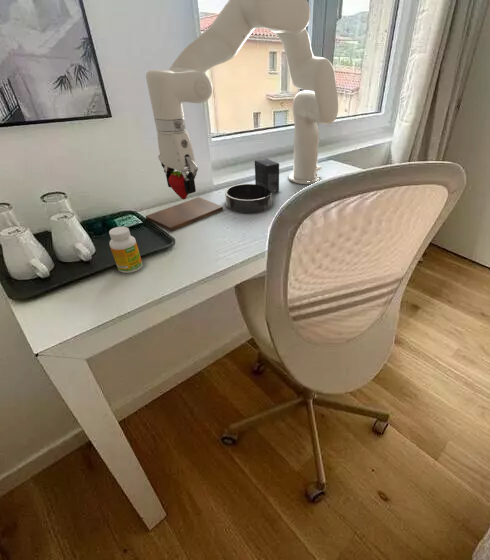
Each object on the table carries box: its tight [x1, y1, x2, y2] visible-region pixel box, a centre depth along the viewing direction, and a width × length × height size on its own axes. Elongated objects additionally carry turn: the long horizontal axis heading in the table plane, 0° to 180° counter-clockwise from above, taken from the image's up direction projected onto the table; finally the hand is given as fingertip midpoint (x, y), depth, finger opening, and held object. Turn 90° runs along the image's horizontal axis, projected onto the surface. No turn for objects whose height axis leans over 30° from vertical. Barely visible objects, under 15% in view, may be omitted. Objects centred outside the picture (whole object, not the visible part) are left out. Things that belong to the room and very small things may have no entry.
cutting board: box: [145, 196, 224, 232], centre depth 100 cm, size 20×12×1 cm, turn 144°
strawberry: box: [169, 170, 189, 200], centre depth 94 cm, size 6×8×10 cm
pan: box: [224, 183, 273, 215], centre depth 108 cm, size 15×15×4 cm
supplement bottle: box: [108, 226, 143, 274], centre depth 73 cm, size 5×5×10 cm
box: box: [254, 158, 280, 195], centre depth 117 cm, size 8×6×11 cm
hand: (181, 189), depth 96 cm, fingers closed on strawberry, 7 cm apart
